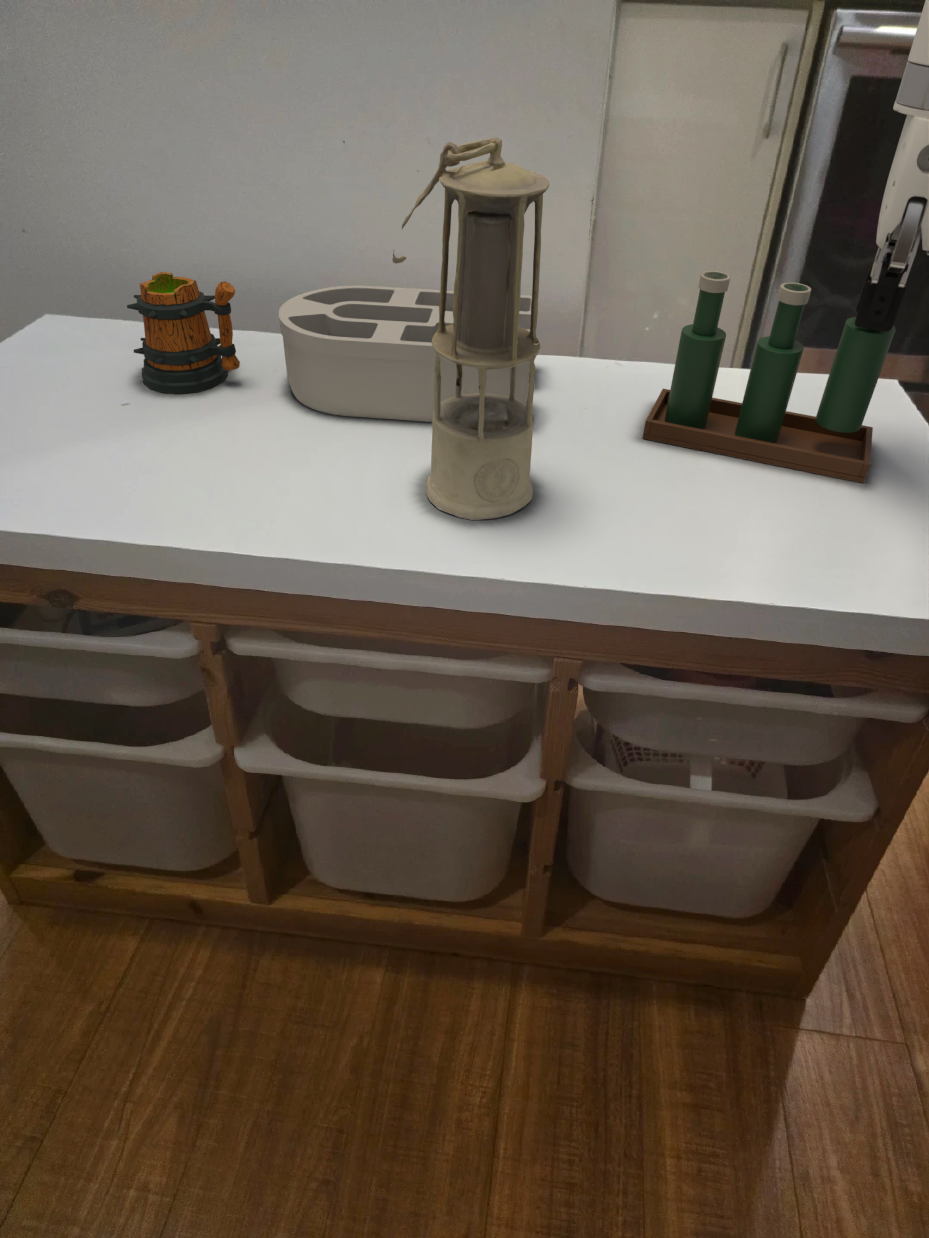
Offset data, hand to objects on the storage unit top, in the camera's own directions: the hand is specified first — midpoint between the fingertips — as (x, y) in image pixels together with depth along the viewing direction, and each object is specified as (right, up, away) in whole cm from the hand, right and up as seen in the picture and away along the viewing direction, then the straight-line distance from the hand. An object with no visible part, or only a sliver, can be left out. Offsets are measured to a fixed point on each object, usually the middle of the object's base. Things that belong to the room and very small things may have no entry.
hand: (873, 320), depth 80 cm
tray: (-7, -9, +11) cm, 16 cm away
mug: (-69, 0, +20) cm, 72 cm away
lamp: (-38, -15, +2) cm, 41 cm away
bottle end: (-14, -7, +13) cm, 20 cm away
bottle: (0, -8, +7) cm, 10 cm away
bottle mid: (-7, -9, +11) cm, 15 cm away
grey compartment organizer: (-44, -2, +19) cm, 48 cm away
